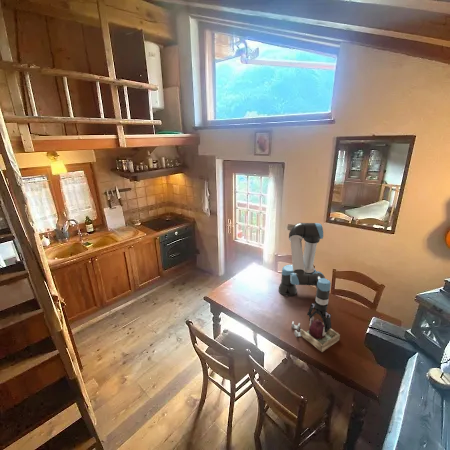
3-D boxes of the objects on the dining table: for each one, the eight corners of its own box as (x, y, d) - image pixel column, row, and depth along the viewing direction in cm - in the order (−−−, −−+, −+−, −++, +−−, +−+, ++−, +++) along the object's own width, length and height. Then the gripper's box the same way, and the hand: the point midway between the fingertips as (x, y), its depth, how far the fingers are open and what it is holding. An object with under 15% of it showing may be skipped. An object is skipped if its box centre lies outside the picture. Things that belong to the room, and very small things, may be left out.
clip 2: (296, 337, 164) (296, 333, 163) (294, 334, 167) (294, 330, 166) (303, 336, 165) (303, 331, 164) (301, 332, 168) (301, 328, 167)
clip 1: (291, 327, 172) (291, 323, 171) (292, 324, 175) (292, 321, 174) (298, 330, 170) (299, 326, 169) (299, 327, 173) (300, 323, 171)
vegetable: (322, 344, 160) (327, 331, 151) (306, 336, 165) (310, 323, 156) (326, 331, 167) (331, 318, 158) (311, 324, 172) (315, 311, 163)
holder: (300, 334, 166) (300, 329, 164) (316, 324, 175) (317, 319, 173) (322, 352, 152) (322, 346, 151) (339, 340, 161) (340, 334, 160)
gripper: (303, 295, 163) (300, 322, 171) (333, 314, 145) (328, 343, 153) (310, 291, 167) (307, 318, 174) (341, 309, 149) (336, 338, 157)
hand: (317, 330), depth 164 cm, fingers closed on vegetable, 9 cm apart
